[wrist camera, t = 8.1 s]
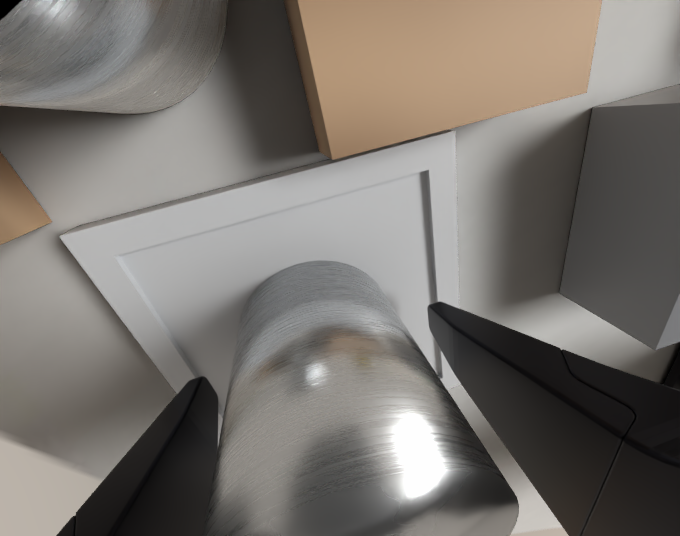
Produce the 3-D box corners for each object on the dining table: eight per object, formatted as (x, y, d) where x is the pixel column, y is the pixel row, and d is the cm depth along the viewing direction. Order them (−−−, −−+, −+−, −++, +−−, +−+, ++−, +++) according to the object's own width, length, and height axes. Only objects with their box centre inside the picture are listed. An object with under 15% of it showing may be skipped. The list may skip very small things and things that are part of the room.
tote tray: (451, 370, 13) (461, 384, 12) (231, 444, 12) (229, 464, 11) (439, 130, 8) (455, 130, 8) (79, 225, 7) (58, 236, 7)
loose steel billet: (396, 358, 11) (508, 569, 6) (269, 399, 11) (265, 667, 5) (376, 240, 9) (535, 420, 3) (212, 288, 8) (106, 574, 3)
